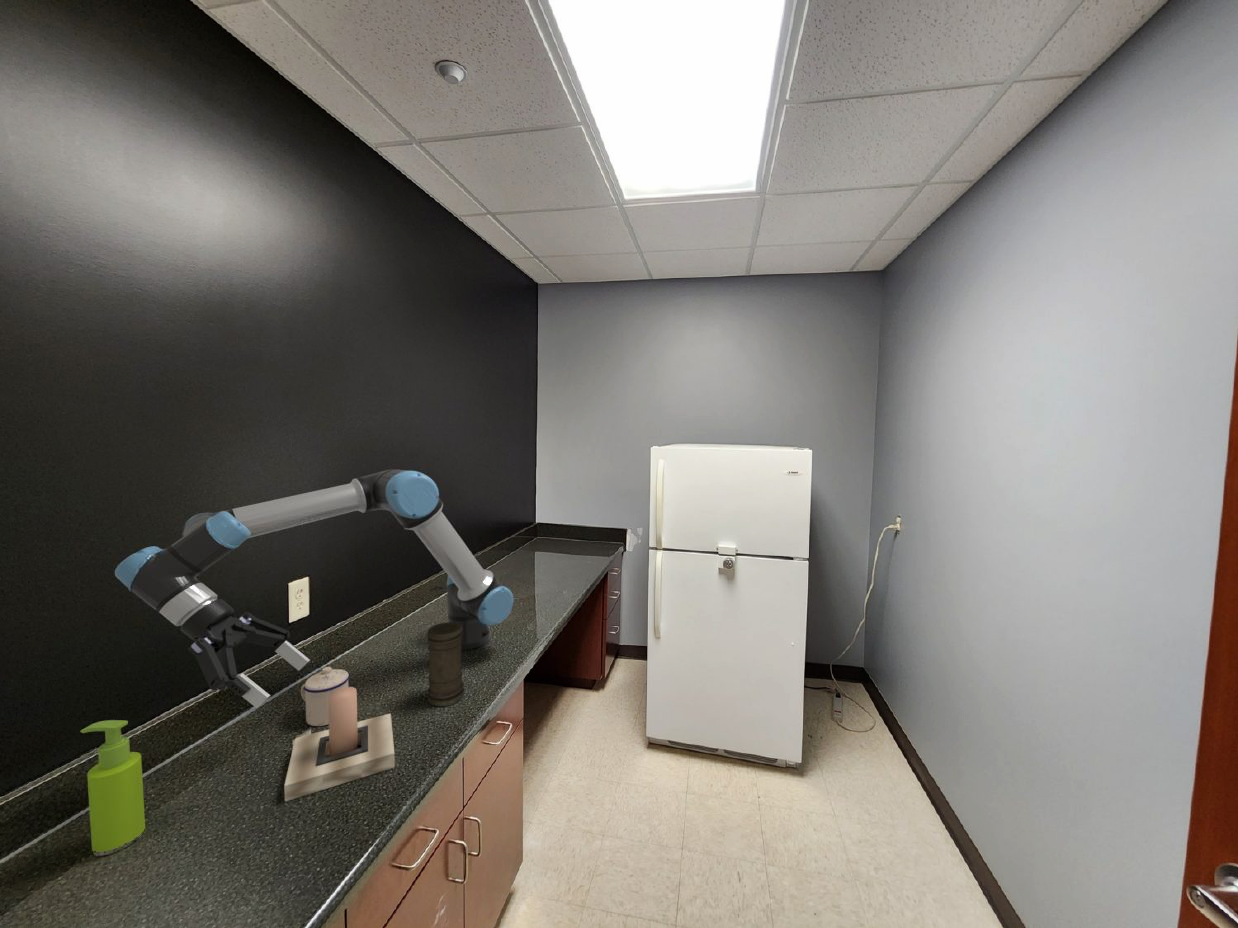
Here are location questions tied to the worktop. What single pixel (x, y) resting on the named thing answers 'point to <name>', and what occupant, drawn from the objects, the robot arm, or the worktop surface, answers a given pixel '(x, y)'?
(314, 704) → the teacup with lid
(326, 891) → the worktop surface
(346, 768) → the band board
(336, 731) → the peg
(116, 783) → the soap dispenser
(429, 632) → the container
